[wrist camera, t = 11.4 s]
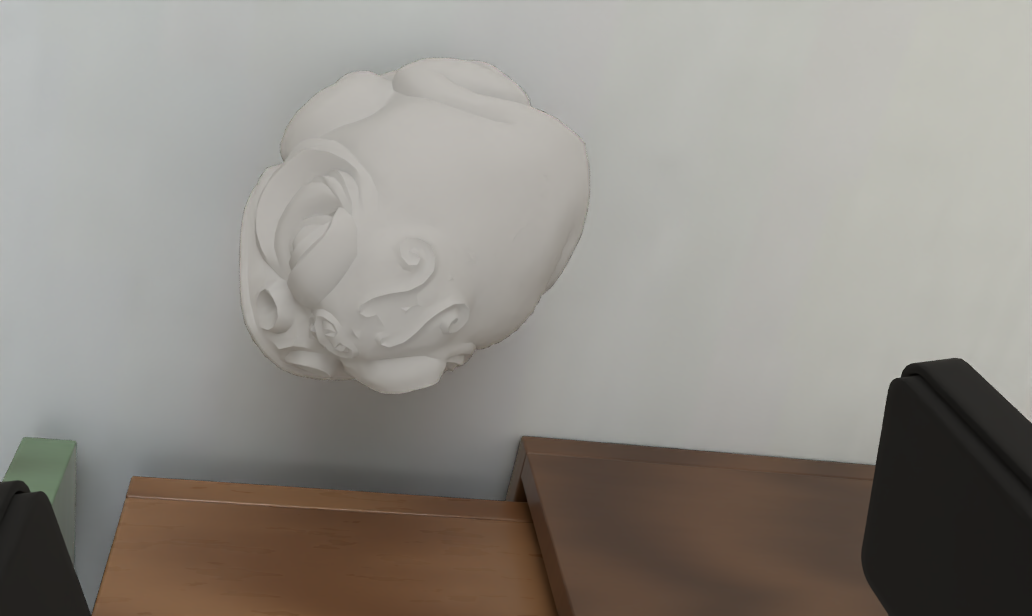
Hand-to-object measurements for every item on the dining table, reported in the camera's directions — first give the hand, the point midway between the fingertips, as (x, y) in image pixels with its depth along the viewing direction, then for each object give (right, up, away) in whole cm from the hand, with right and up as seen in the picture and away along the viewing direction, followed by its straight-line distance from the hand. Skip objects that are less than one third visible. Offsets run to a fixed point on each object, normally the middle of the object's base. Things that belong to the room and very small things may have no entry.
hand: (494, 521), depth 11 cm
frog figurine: (-2, +6, +12) cm, 13 cm away
